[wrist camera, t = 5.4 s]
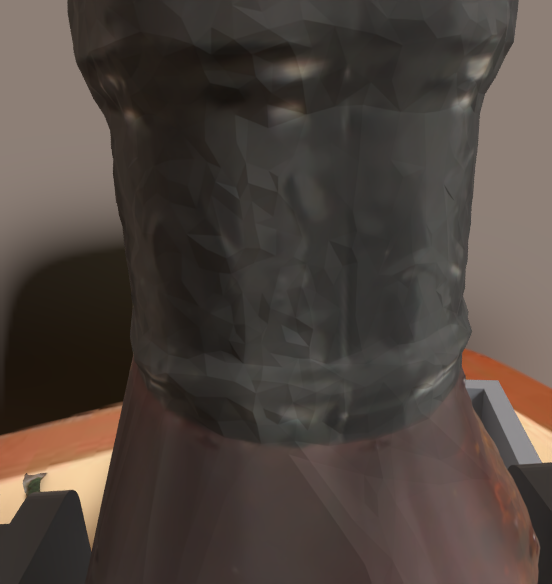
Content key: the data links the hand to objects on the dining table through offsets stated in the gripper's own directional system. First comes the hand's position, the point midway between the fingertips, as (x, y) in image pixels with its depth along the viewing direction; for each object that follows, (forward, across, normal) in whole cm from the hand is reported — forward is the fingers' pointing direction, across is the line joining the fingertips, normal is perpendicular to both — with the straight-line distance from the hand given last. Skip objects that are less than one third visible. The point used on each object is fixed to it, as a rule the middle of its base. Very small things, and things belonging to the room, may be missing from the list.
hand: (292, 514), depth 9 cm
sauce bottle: (-2, 0, +11) cm, 11 cm away
